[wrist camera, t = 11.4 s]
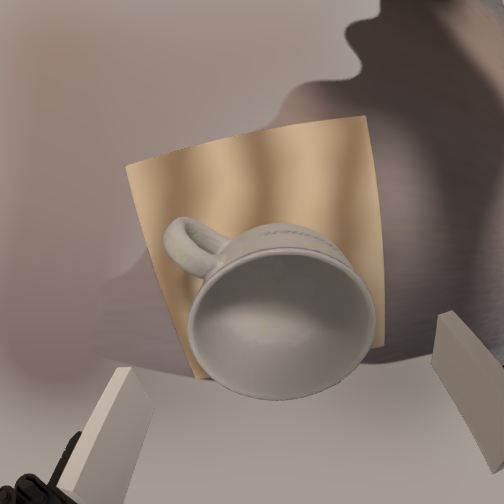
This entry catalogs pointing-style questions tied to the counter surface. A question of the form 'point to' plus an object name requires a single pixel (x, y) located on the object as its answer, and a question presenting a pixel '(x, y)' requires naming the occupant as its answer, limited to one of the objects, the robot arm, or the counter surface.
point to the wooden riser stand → (266, 201)
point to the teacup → (273, 308)
